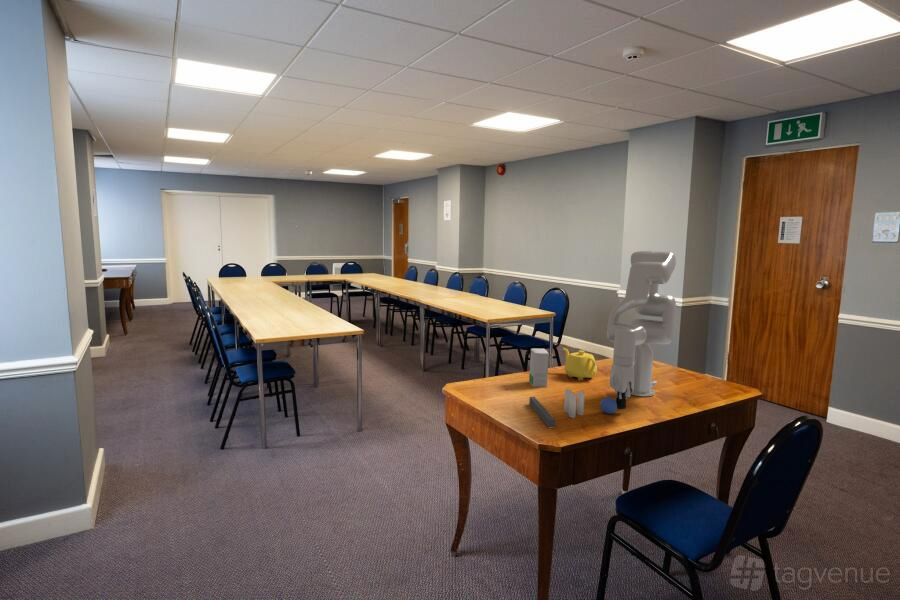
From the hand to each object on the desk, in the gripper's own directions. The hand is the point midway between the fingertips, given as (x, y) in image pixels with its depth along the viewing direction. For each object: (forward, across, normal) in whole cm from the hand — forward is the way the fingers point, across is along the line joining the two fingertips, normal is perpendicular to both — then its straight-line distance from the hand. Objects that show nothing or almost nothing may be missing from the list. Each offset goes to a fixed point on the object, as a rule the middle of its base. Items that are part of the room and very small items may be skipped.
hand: (620, 408), depth 185 cm
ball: (-1, 0, -5) cm, 5 cm away
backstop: (+2, -2, -31) cm, 31 cm away
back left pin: (+2, +1, -20) cm, 20 cm away
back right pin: (+2, -4, -20) cm, 20 cm away
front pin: (+2, -1, -16) cm, 16 cm away
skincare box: (+2, -38, -19) cm, 43 cm away
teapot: (+2, -48, +4) cm, 48 cm away
